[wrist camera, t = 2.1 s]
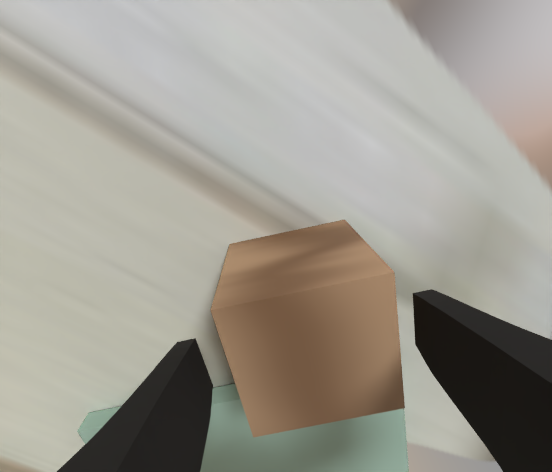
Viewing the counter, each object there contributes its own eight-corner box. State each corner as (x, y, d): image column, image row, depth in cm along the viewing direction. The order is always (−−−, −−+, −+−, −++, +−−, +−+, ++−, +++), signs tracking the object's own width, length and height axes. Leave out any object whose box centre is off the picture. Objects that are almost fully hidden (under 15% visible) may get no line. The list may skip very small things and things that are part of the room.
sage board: (391, 352, 15) (400, 367, 14) (404, 497, 19) (412, 516, 18) (88, 412, 15) (77, 431, 14) (164, 542, 19) (160, 563, 18)
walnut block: (344, 219, 12) (394, 272, 8) (356, 316, 14) (404, 408, 9) (230, 243, 13) (210, 309, 8) (256, 336, 14) (253, 437, 10)
